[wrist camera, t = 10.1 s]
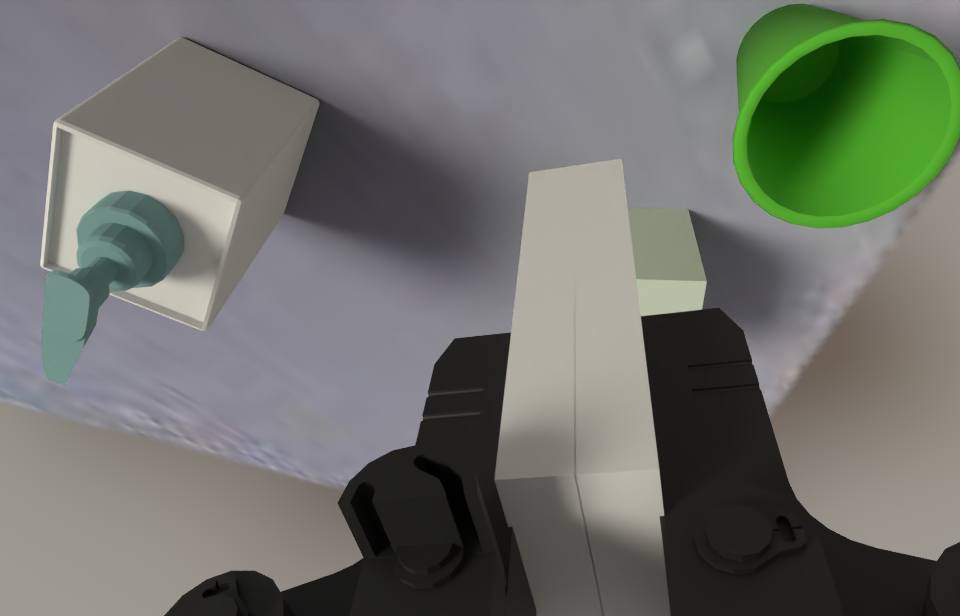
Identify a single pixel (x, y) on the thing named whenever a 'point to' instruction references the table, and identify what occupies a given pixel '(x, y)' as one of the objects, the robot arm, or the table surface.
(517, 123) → the table surface
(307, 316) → the table surface
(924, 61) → the cup
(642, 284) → the sage block
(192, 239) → the soap bottle
